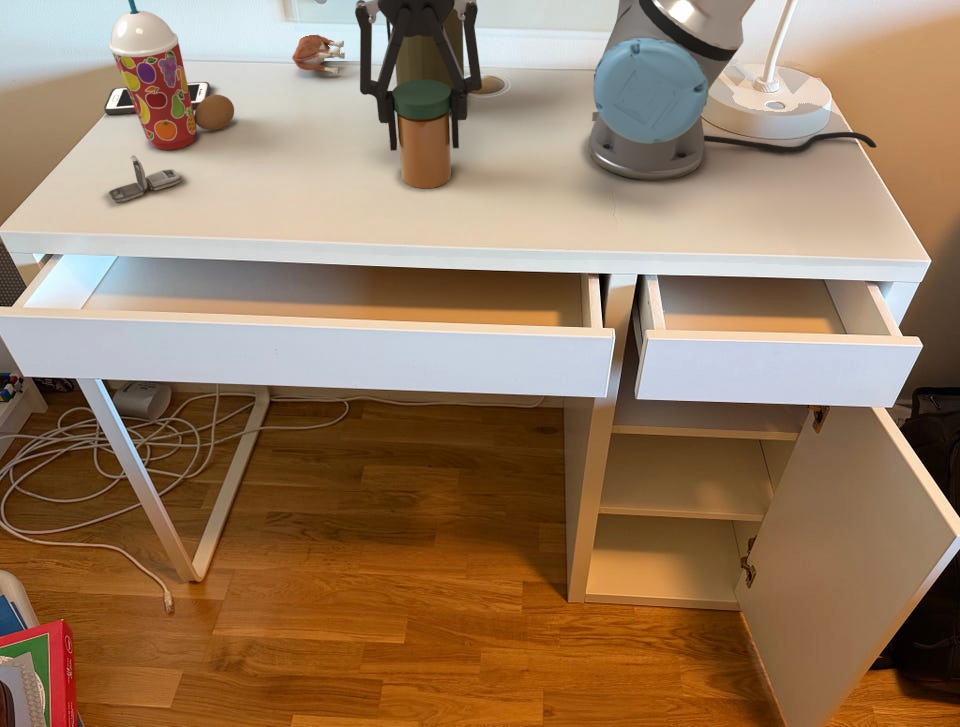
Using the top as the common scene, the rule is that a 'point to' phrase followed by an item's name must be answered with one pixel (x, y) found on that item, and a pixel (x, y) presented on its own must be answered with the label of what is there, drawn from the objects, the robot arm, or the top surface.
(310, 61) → the bull figurine
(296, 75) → the top surface
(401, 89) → the lid
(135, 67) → the smoothie
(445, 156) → the jar
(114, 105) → the cell phone
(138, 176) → the strap clip
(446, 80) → the canister
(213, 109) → the egg
